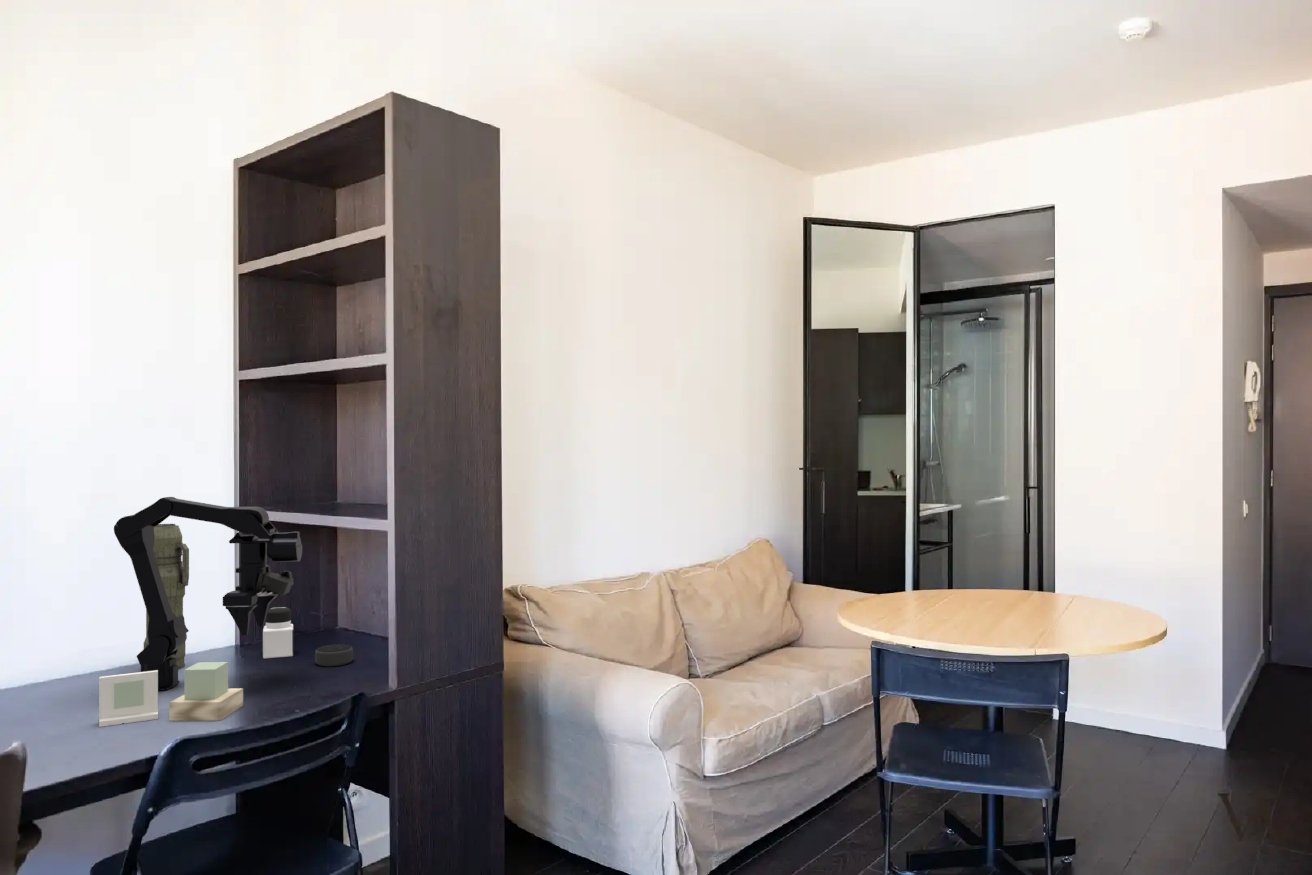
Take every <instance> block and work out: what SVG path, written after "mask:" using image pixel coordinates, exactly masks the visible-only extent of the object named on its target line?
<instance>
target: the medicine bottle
mask: <svg viewBox="0 0 1312 875" xmlns="http://www.w3.org/2000/svg"><path fill="white" fill-rule="evenodd" d="M293 656H294V624H293V623H292V609H290V608H288V607H286V606H285V607H284V606H283V607H282V606H281V607H280V606H278V607H272V608H268V611H267V615H266V618H265V625H263V629H262V658H263V659H273V658H274V659H275V658H286V657H293Z"/></svg>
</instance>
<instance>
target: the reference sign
mask: <svg viewBox="0 0 1312 875" xmlns="http://www.w3.org/2000/svg"><path fill="white" fill-rule="evenodd" d="M98 681H99V684H98V686H99V689H98V692H99V693H98V694H99V695H98V697H99V700H98V701H99V702H98V706H99V707H98V708H99V710H98V714H99V716H98V727H99V728H101V727H108V726H109V727H110V726H115V725H116V726H117V725H123V724H122V723H124V724H130V723H131V724H132V723H138V722H144V721H146V722H147V721H151V720H158V719H159V690H158V670H155V671H146V672H141V671H139V672H131V673H123V674H113V675H102V676H99V678H98Z"/></svg>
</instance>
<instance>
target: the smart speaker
mask: <svg viewBox="0 0 1312 875" xmlns="http://www.w3.org/2000/svg"><path fill="white" fill-rule="evenodd" d="M314 651H315V653H314V660H315V664H316V665H318V666H321V667H340V666H344V665H347V664H350V663H351V662H352V661H353V660H354V649H353V647H352V645H350V644H347V643H346V644H344V643H334V644H325V645H322V646H320V647H317V648H316V649H315V650H314Z"/></svg>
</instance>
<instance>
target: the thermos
mask: <svg viewBox="0 0 1312 875" xmlns="http://www.w3.org/2000/svg"><path fill="white" fill-rule="evenodd" d="M180 528H181V527H180V525H177V524H176V523H160V524H158V525H157V526H155V527H154V536H155V539H154V547H153V552H154V555H155V559H156V562H157V565H158V569H159V572H160V575H161V579H162V582H163V585H164V588H165V592H166V595H167V598H168V602H169V605H170V608H171V610H172V612H173V613H174V614H175V615H176V617H179V616H181V615H183V616H184V597H185V595H186V587H187V586H189V580H190V548H189V547H188V545H187V543H184V542H183V534H182V532H181V529H180ZM145 610H146V609H145ZM145 613H146V614H145V617H146V618H145V621H146V622H145V623H146V624H145V627H146V629H145V635H146V636H145V638H144V641H143V649H145V648H146V647H147V646H148V645H149V644H148V634H147V630H148V622H149V617H148V613H147V610H146V611H145ZM185 657H186V642H185V643H184V645H183V646H181V647H180V648H179V649H178V652H177V654H176V655H175V656H173V657H172V658H176V664H177V665H178V670H181V669H183V668H185V666H186V664H185Z"/></svg>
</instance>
